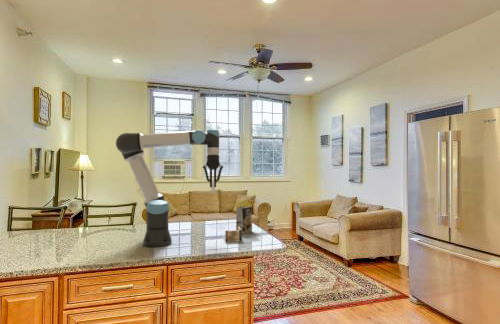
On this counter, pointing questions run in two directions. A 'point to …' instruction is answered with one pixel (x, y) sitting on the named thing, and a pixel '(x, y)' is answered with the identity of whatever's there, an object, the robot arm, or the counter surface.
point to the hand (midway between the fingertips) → (212, 192)
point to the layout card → (244, 239)
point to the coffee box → (244, 218)
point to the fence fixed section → (233, 235)
